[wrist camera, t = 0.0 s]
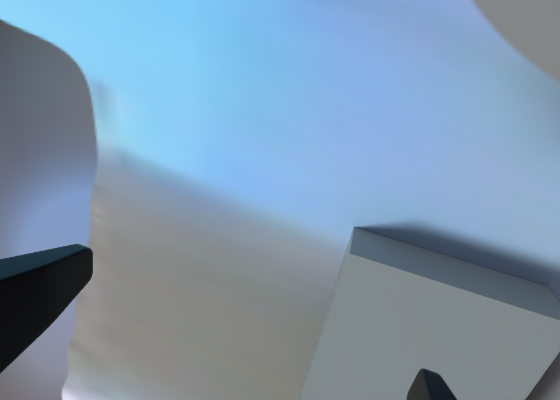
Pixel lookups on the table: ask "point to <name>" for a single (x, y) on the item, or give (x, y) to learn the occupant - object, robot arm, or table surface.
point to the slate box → (429, 326)
